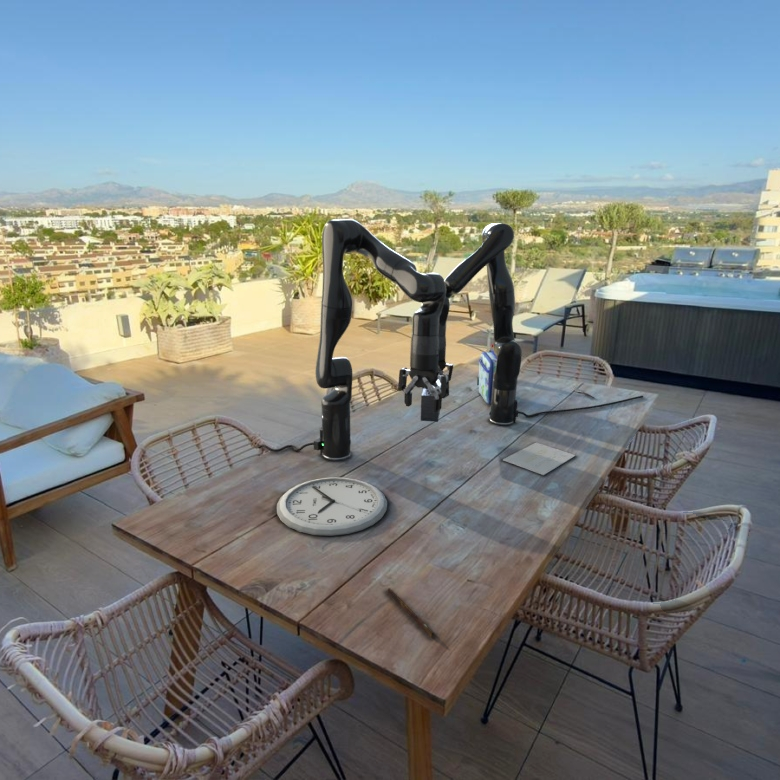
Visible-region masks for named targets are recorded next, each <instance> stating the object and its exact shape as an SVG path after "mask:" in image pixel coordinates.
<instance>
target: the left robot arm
mask: <svg viewBox="0 0 780 780" xmlns="http://www.w3.org/2000/svg"><path fill="white" fill-rule="evenodd" d="M321 247H322V248H321V253H322V290H321V301H320V326H319V327H320V329H319V341H318V347H317V353H316V361H315V369H314V370H315V374H314V375H315V380H316V384H317V386H318V387H319V388H321V389H332V390H331V391H330V392H329V393H328V394H326V395H324V396H323V397H322V398H321V427H319V438H317V439H315V440H313V441H312V442H308V443H305V444H303V445H301V446H300V447H298V448H297V447H296V446H295V445H293V444H287V445H284V446H282V447H280V448H271V447H269V446H268V445H266V444H263V443H262V444H260V445H258V446H257V449H261V448H265V449H266V450H268V451H270V452H273V453H275V452H276V453H278V452H281V451H284V450H286V449H289V448H292V449H293V451H295V452H300V451H302V450H304V449H305V448H306V447H309V446H313V450H314V451H318V452H319V455H320V456H322V457H323V458H324V460H328V461H330V462H331V461H332V462H341V461H345V460H347V459H349V458H351V456H352V452H351V444H352V440H351V401H352V397H353V377H354V376H353V366H352V363H351V360H350V359H349V358H348V357H345V356H339V357H334V353H335V349H336V347H337V345H338V343H339V341H340V340H341V338H342V337H343V336H344V334H345V333H346V331H347V330H348V328H349V327H350V324H351V321H352V315H353V305H354V304H353V303H354V302H353V301H354V300H353V295H352V293H351V289H350V287H349V285H348V283H347V281H346V278H345V276H344V256H345V254H352V253H357V254H359V255H362V256H364V257H366V258H368V259H369V261H371V263H372V264H373V267H374V269H375V270H376V271H377V272H378V273H379V274H380V275H381V276H382V277H384V278H385V279H387V280H388V281H390V282H392V283H393V284H395V285H397V286H398V288H399V289H400V290H401V291H402V292H403V293H404V294H405V295H406V297H408V299H410V300H412V301H414V302H416V303H421V305H420V308H419V309H418V310H416V311H415V312H414V313H413V315H412V320H411V321H412V322H411V324H412V325H411V339H410V351H409V355H410V356H409V366H410V369H409V368H407V367H403V368H401V369H399V373H398V383H397V384H398V385H397V389H398V390H399V391H402V392H403V394H404V397H403V398H404V399H403V401H404V404H405V407H411V406H412V404H413V392H412V391H413V390H414V388H415V387H416V388H419V389H420V388H422V389H423V388H424V389H429V391H430V392H431V393H432V394H433V395H434V397H435V399H434V412H438V411H439V410H440V411H441V410H442V401H443V399H445V398H447V397H449V396H450V381H449V375H448V373H447V374H444V375H440V374H438V361H439V318H440V315H441V312H442V308H443V304H444V301H445V296H446V284H445V281H444V280H445V278H444V277H443V276H442V275H441V274H439V273H436V272H428V273H420V272H419V271H417V266H416V265H415V263H414V262H412V261H411V260H410V259H408V258H406V257H405V256H402V255H401V254H400V253H398V252H396V251H394V250H393V249H392V248H390V247H388V246H387V245H386V244H384V243H383V242H382V241H380V240H379V239H378V238H377V237H376V236H375V235H373V234H372V233H371V231H369V229H367V227H365V226H364V225H363V224H361V223H360V222H359V221H357V220H355V219H351V218H347V219H345V218H344V219H331V220H328V221H327V222H326V223H325V224H324V227H323V229H322V235H321ZM408 377H410V379H411V380H410V382H409V383H408V384H407V381H408ZM438 379H439V381H440V383H441V391H440V389H439V385H438V384H437V382H436V381H437V380H438ZM433 386H434V387H433Z"/></svg>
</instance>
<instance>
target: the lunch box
mask: <svg viewBox="0 0 780 780" xmlns="http://www.w3.org/2000/svg"><path fill="white" fill-rule="evenodd" d="M496 364H497V357H496V356H495V354H494V350H491V352H489V351H482V352H481V354H480V358H479V360H478V377H477V381H476V384H477V385H476V386H478V393H479V395H480V396H481V397H482V399H483V400H484V402H485V404H487V405H488V406H489V405H490V406H491V398H492V385H493V374H494V372H495V370H496Z"/></svg>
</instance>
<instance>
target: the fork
mask: <svg viewBox="0 0 780 780" xmlns="http://www.w3.org/2000/svg"><path fill="white" fill-rule="evenodd" d="M572 387H573V389H574V391H575V392H577V393H582V394H584V395H585V396H588V397H590V398H592V399H595V397H594V396H593V395H591V394H589V393H587V392H585V391H582V390H581V389H580V387H578V385H577V384H575V385H574V384H572Z"/></svg>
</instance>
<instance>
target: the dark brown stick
mask: <svg viewBox="0 0 780 780" xmlns="http://www.w3.org/2000/svg"><path fill="white" fill-rule="evenodd" d="M386 592H387V593H388V595H390V597H392V598H393V599H394V600H395V601H396V602H397V603H398V604H399V606H401V607H402V609H403V610H404V611H405V612H406V613H407V614H408V615H409V616H410V617H411V619H413V620H414V621H415V622H416V623H417V625H419V626H420V628H422V629H423V631H425V632H426V634H427V635H429V637H430V638H433V637H434V631H433V630H432V629H431V628H430V627H429V626H428V625H427V624H426V623H425V622H424V621H423V620H422V619H421V618H420V617H419V616H418V615H417V614H416V613H415V612H414V611H413V610H412V609H411V608H410V607H409V605H407V604H406V603H405V602H404V600H402V599H401V598H400V596H398V595H397V594H396V592H394V590H392V589H391V588H390V587H388V588H387V591H386Z"/></svg>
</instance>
